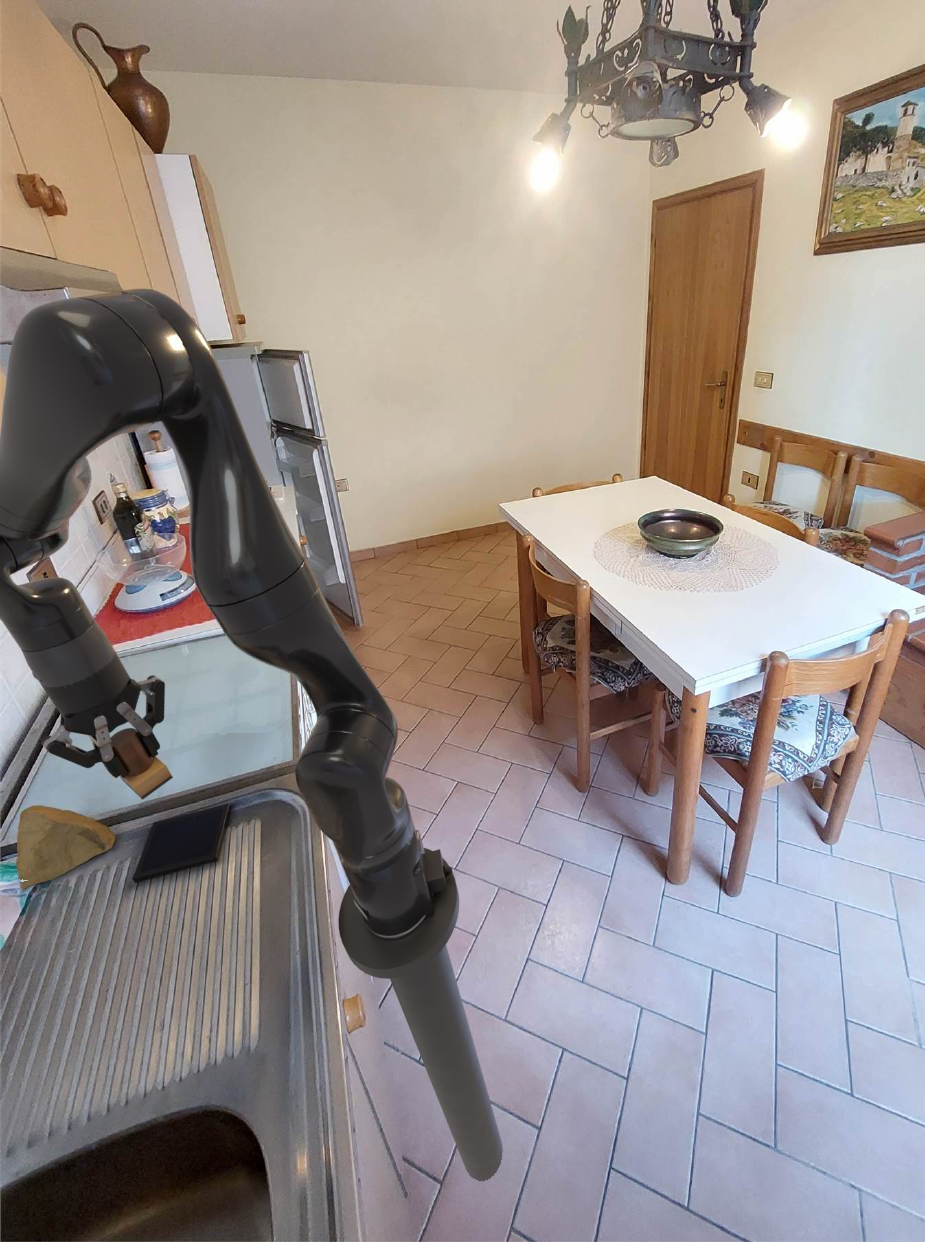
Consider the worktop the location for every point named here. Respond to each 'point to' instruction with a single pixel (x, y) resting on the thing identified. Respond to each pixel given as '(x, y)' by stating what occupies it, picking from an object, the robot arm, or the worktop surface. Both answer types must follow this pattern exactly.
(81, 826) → the rock
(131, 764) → the stamp
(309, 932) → the worktop surface
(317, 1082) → the worktop surface
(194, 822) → the ink pad
